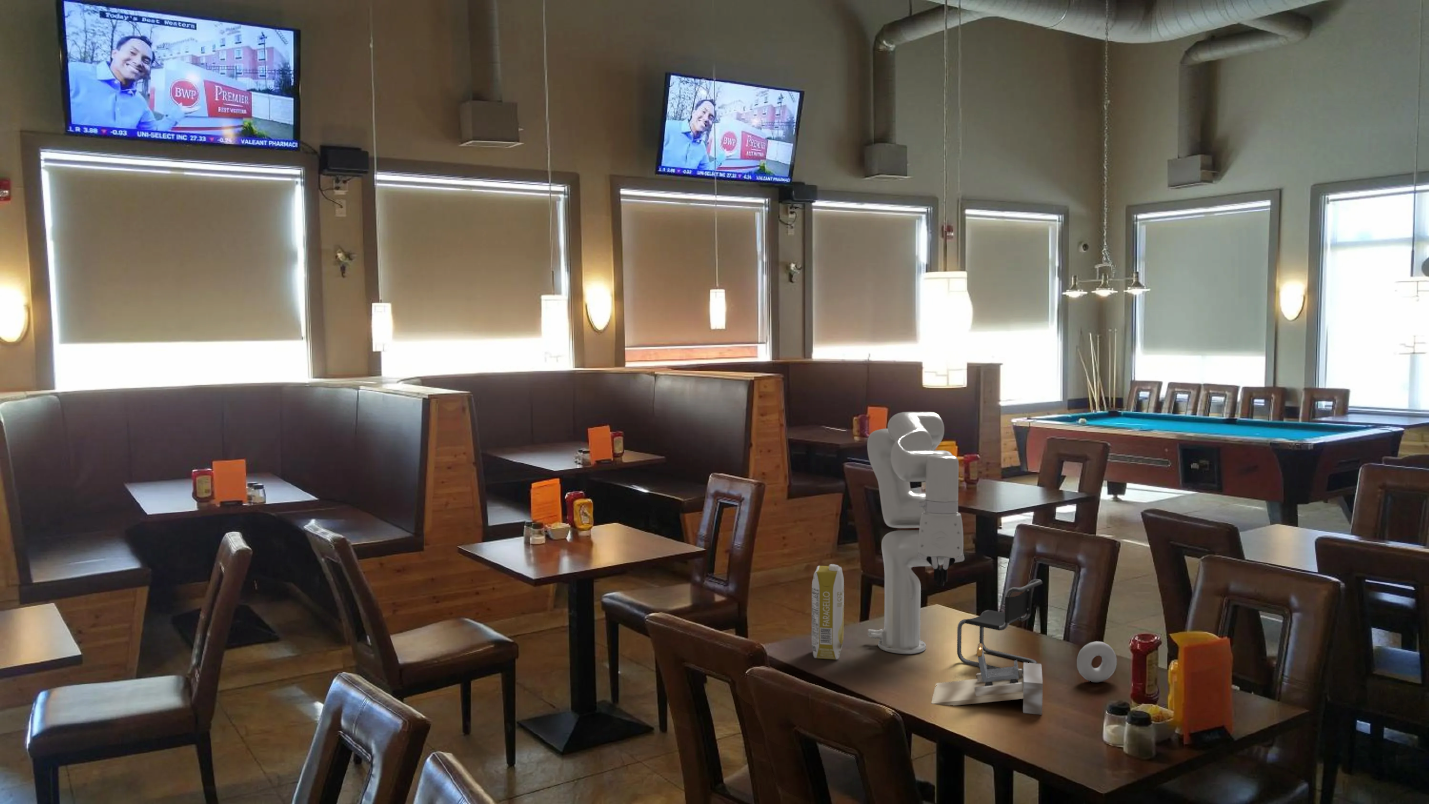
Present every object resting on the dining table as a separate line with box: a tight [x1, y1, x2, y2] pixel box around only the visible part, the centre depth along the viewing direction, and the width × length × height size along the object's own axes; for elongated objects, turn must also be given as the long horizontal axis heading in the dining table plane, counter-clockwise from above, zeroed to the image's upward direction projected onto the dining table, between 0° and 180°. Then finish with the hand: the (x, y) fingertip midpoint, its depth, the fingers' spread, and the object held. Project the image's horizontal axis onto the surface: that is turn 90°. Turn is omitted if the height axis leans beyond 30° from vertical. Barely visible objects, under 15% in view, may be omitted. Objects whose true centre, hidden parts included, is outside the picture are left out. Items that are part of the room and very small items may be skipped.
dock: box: [930, 661, 1044, 716], centre depth 232 cm, size 24×14×8 cm, turn 73°
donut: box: [1076, 640, 1118, 683], centre depth 242 cm, size 10×4×10 cm, turn 99°
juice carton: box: [811, 563, 845, 660], centre depth 263 cm, size 9×8×24 cm
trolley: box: [976, 642, 1020, 686], centre depth 231 cm, size 9×7×9 cm
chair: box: [956, 578, 1043, 674], centre depth 256 cm, size 13×17×22 cm
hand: (940, 584), depth 236 cm, fingers closed
